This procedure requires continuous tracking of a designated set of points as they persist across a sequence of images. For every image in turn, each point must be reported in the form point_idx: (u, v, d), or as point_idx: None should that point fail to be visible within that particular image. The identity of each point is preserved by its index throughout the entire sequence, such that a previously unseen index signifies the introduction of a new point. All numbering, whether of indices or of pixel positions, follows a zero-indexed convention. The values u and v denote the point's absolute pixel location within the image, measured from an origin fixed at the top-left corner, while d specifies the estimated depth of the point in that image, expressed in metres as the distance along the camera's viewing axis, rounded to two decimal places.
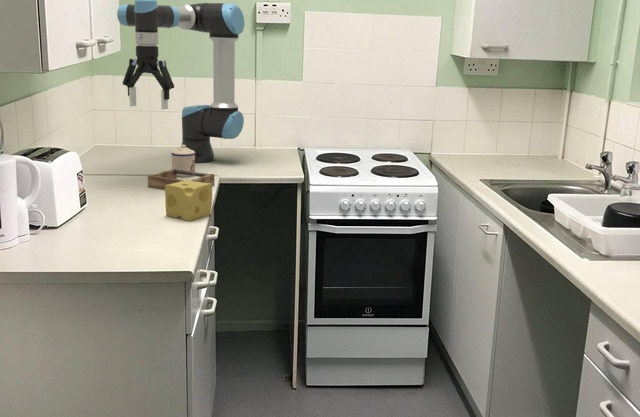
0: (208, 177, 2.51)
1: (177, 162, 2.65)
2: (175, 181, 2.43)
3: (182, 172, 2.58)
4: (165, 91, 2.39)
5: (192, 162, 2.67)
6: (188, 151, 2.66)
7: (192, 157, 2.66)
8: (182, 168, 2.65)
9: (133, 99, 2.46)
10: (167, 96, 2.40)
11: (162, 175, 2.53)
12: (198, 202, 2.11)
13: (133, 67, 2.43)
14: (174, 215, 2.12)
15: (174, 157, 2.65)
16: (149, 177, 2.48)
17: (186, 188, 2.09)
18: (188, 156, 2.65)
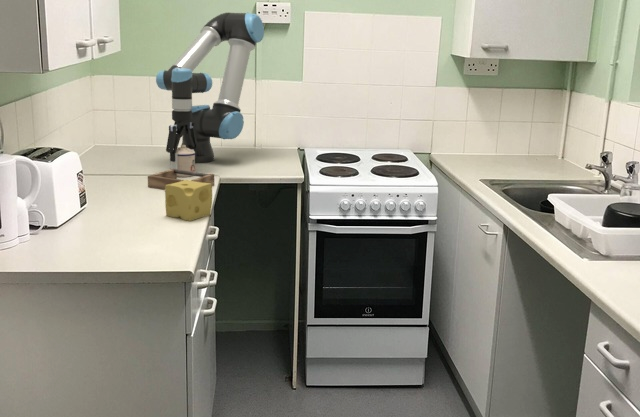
0: (208, 177, 2.51)
1: None
2: (175, 181, 2.43)
3: (182, 172, 2.58)
4: None
5: (192, 162, 2.67)
6: (188, 151, 2.66)
7: (192, 157, 2.67)
8: (182, 168, 2.65)
9: None
10: (171, 158, 2.63)
11: (162, 175, 2.53)
12: (198, 202, 2.11)
13: (190, 130, 2.72)
14: (174, 215, 2.12)
15: None
16: (149, 177, 2.48)
17: (186, 188, 2.09)
18: (188, 156, 2.65)
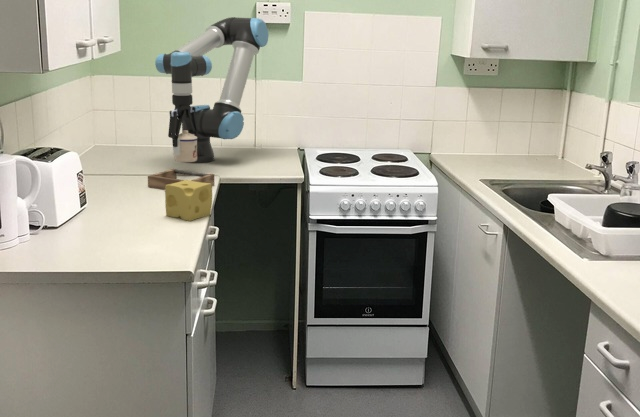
0: (208, 177, 2.51)
1: None
2: (175, 181, 2.43)
3: (182, 172, 2.58)
4: None
5: (194, 147, 2.67)
6: (190, 136, 2.66)
7: (194, 142, 2.67)
8: (184, 153, 2.65)
9: None
10: (173, 143, 2.63)
11: (162, 175, 2.53)
12: (198, 202, 2.11)
13: (191, 114, 2.71)
14: (174, 215, 2.12)
15: None
16: (149, 177, 2.48)
17: (186, 188, 2.09)
18: (190, 141, 2.65)
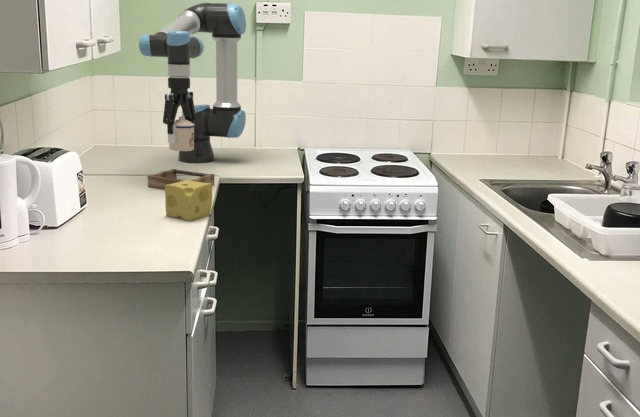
0: (208, 177, 2.51)
1: None
2: (175, 181, 2.43)
3: (182, 172, 2.58)
4: None
5: (191, 135, 2.45)
6: (187, 123, 2.44)
7: (191, 130, 2.44)
8: (180, 141, 2.43)
9: None
10: (168, 130, 2.41)
11: (162, 175, 2.53)
12: (198, 202, 2.11)
13: (188, 100, 2.49)
14: (174, 215, 2.12)
15: None
16: (149, 177, 2.48)
17: (186, 188, 2.09)
18: (187, 128, 2.42)
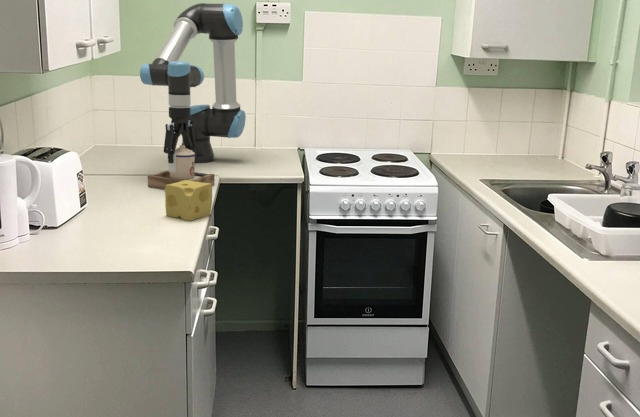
0: (208, 177, 2.51)
1: None
2: (175, 181, 2.43)
3: None
4: None
5: (192, 164, 2.47)
6: (187, 152, 2.46)
7: (192, 158, 2.47)
8: (181, 170, 2.45)
9: None
10: (169, 160, 2.43)
11: (162, 175, 2.53)
12: (198, 202, 2.11)
13: (188, 128, 2.51)
14: (174, 215, 2.12)
15: None
16: (149, 177, 2.48)
17: (186, 188, 2.09)
18: (187, 157, 2.45)
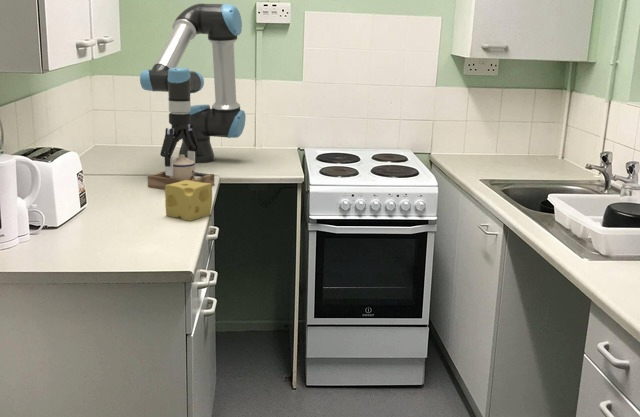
0: (208, 177, 2.51)
1: (175, 173, 2.46)
2: (175, 181, 2.43)
3: None
4: None
5: (191, 173, 2.48)
6: (187, 161, 2.47)
7: (191, 168, 2.48)
8: None
9: None
10: (165, 163, 2.42)
11: (162, 175, 2.53)
12: (198, 202, 2.11)
13: (189, 132, 2.52)
14: (174, 215, 2.12)
15: None
16: (149, 177, 2.48)
17: (186, 188, 2.09)
18: (187, 167, 2.46)
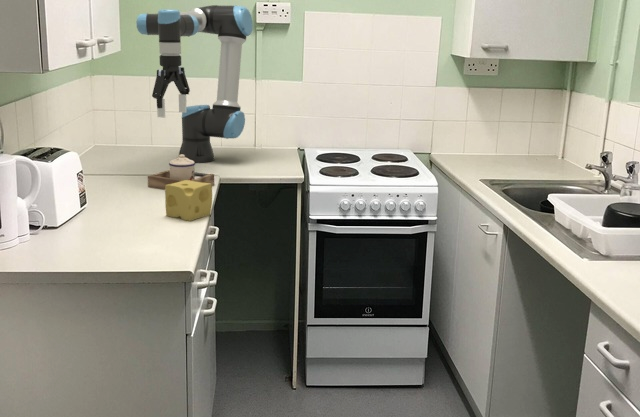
0: (208, 177, 2.51)
1: (175, 173, 2.46)
2: (175, 181, 2.43)
3: None
4: None
5: (191, 173, 2.48)
6: (187, 161, 2.47)
7: (191, 168, 2.48)
8: None
9: (181, 106, 2.57)
10: (157, 105, 2.44)
11: (162, 175, 2.53)
12: (198, 202, 2.11)
13: (180, 75, 2.54)
14: (174, 215, 2.12)
15: (172, 168, 2.46)
16: (149, 177, 2.48)
17: (186, 188, 2.09)
18: (187, 167, 2.46)
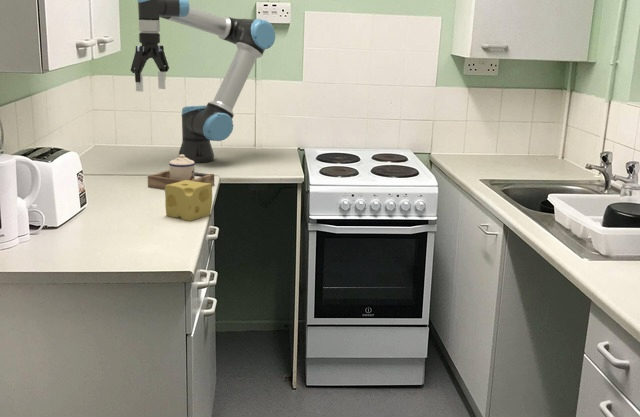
0: (208, 177, 2.51)
1: (175, 173, 2.46)
2: (175, 181, 2.43)
3: None
4: None
5: (191, 173, 2.48)
6: (187, 161, 2.47)
7: (191, 168, 2.48)
8: None
9: (160, 82, 2.70)
10: (136, 79, 2.57)
11: (162, 175, 2.53)
12: (198, 202, 2.11)
13: (159, 53, 2.67)
14: (174, 215, 2.12)
15: (172, 168, 2.46)
16: (149, 177, 2.48)
17: (186, 188, 2.09)
18: (187, 167, 2.46)
